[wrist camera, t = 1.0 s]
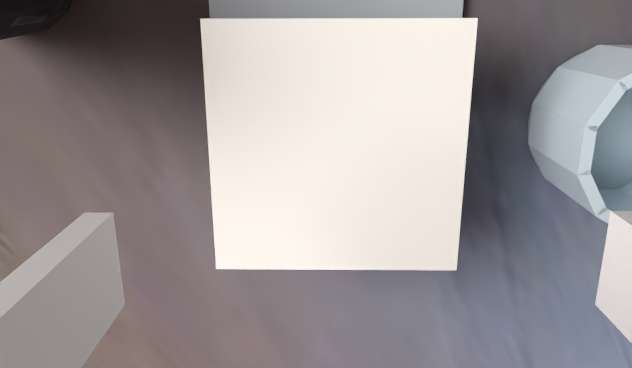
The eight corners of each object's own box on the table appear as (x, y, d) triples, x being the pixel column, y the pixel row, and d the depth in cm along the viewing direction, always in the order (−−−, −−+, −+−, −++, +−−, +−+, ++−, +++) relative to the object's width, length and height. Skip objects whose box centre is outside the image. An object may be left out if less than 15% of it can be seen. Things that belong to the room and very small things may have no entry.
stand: (209, -21, 30) (182, -29, 24) (462, -21, 30) (495, -30, 24) (224, 244, 35) (205, 290, 29) (442, 245, 34) (465, 291, 29)
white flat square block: (207, 18, 25) (200, 18, 23) (468, 17, 25) (477, 18, 23) (221, 256, 28) (216, 269, 27) (449, 257, 28) (456, 270, 27)
